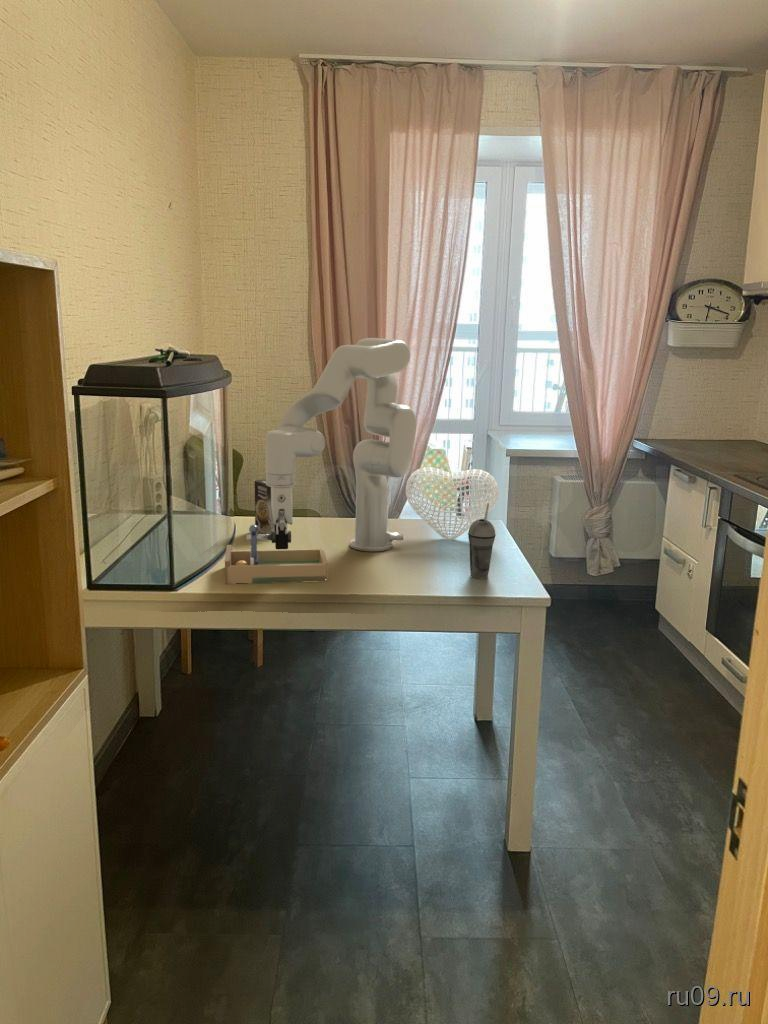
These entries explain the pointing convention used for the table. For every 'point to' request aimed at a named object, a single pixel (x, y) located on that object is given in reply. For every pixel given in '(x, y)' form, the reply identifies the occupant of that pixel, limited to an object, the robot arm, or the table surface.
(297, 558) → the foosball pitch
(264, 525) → the coffee box
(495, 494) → the heart
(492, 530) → the beverage cup
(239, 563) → the foosball ball
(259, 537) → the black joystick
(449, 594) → the table surface
